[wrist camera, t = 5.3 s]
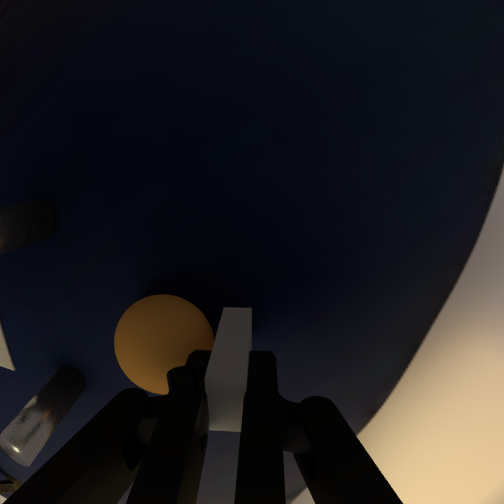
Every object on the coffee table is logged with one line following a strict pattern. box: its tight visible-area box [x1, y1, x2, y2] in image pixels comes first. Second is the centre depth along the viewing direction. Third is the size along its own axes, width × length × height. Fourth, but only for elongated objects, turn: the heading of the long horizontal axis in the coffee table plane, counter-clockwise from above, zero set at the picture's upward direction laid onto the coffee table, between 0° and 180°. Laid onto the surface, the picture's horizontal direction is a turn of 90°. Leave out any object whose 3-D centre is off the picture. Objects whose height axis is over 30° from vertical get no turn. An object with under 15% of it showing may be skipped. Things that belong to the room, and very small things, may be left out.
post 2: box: [0, 366, 85, 467], centre depth 16 cm, size 3×3×9 cm
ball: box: [114, 294, 215, 394], centre depth 16 cm, size 6×6×6 cm
